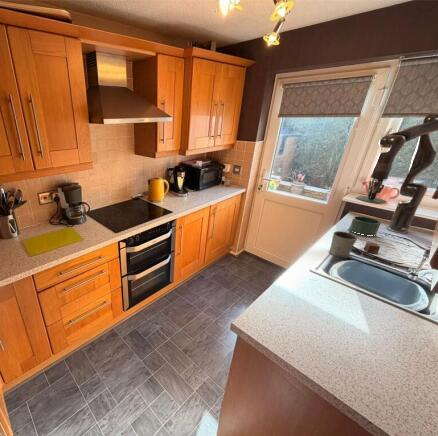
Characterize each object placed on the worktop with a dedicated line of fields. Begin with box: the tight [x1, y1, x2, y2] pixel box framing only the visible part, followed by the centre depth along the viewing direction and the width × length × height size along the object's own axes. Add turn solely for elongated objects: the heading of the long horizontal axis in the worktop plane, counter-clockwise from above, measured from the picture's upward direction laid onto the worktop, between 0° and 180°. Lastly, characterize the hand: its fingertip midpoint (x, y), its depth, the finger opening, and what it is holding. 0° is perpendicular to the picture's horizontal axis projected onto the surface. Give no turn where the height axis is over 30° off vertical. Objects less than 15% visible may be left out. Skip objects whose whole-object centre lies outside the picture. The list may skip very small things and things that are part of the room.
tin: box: [348, 215, 381, 238], centre depth 155 cm, size 14×14×10 cm
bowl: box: [354, 190, 387, 205], centre depth 144 cm, size 15×15×7 cm
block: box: [363, 241, 381, 255], centre depth 132 cm, size 5×5×5 cm
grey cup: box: [329, 230, 358, 259], centre depth 128 cm, size 10×10×12 cm
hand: (371, 198), depth 144 cm, fingers closed on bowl, 2 cm apart
